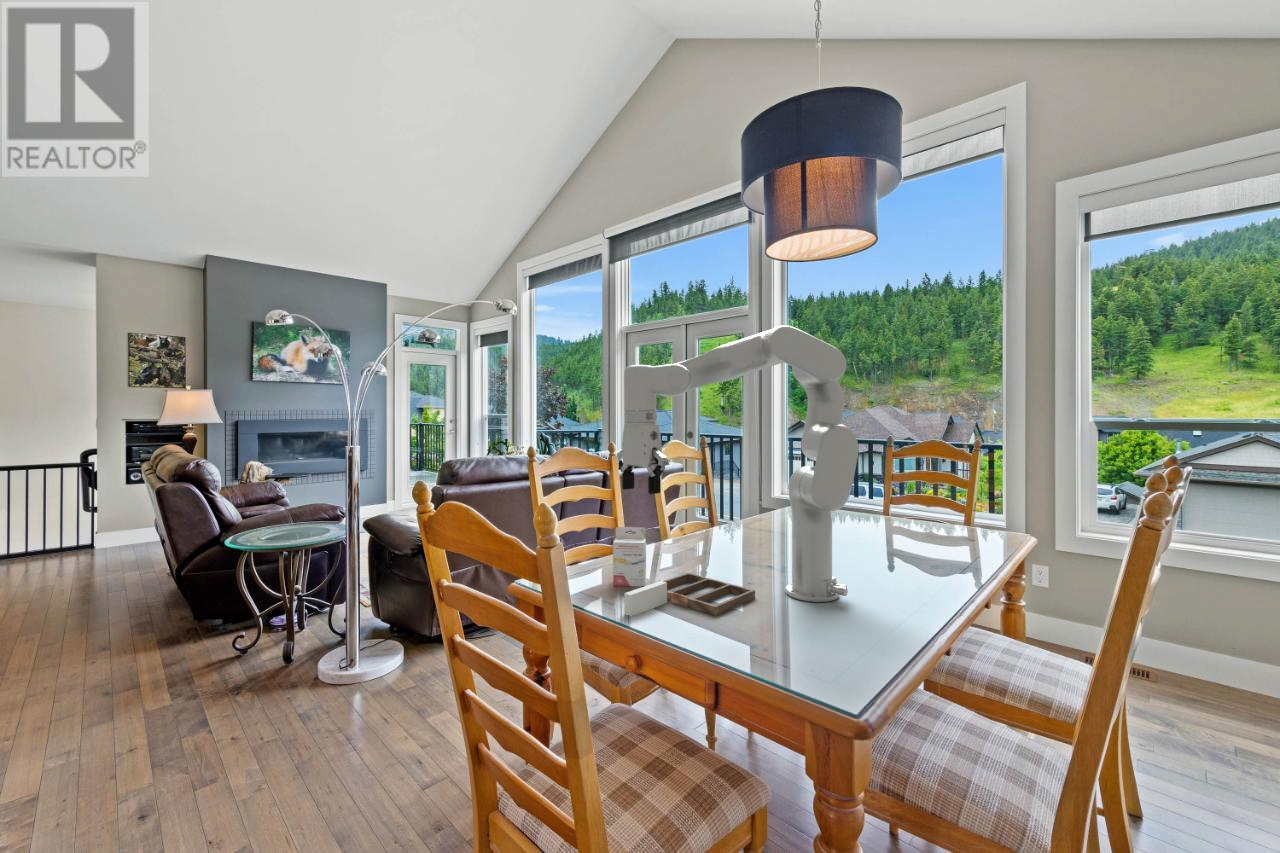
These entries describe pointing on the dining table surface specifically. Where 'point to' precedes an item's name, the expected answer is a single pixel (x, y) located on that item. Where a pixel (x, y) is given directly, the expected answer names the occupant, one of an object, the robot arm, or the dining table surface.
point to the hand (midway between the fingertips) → (641, 491)
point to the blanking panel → (645, 598)
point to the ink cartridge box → (629, 557)
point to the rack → (706, 593)
